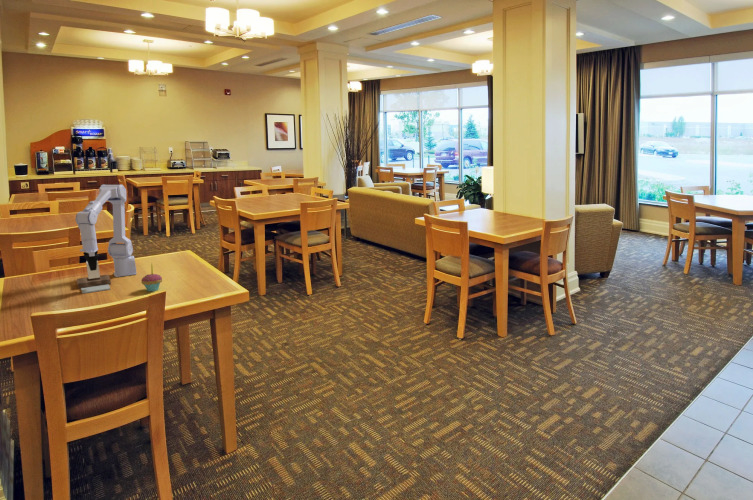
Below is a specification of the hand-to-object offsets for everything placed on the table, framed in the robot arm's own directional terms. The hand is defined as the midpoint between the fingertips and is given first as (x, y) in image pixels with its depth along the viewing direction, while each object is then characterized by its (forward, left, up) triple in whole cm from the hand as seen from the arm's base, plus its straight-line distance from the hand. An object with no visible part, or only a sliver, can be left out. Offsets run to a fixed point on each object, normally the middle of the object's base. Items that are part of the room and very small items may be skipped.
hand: (93, 268), depth 226 cm
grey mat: (0, 0, -10) cm, 10 cm away
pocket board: (0, -10, -10) cm, 14 cm away
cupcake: (-22, +14, -10) cm, 27 cm away
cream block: (0, 0, -4) cm, 4 cm away
